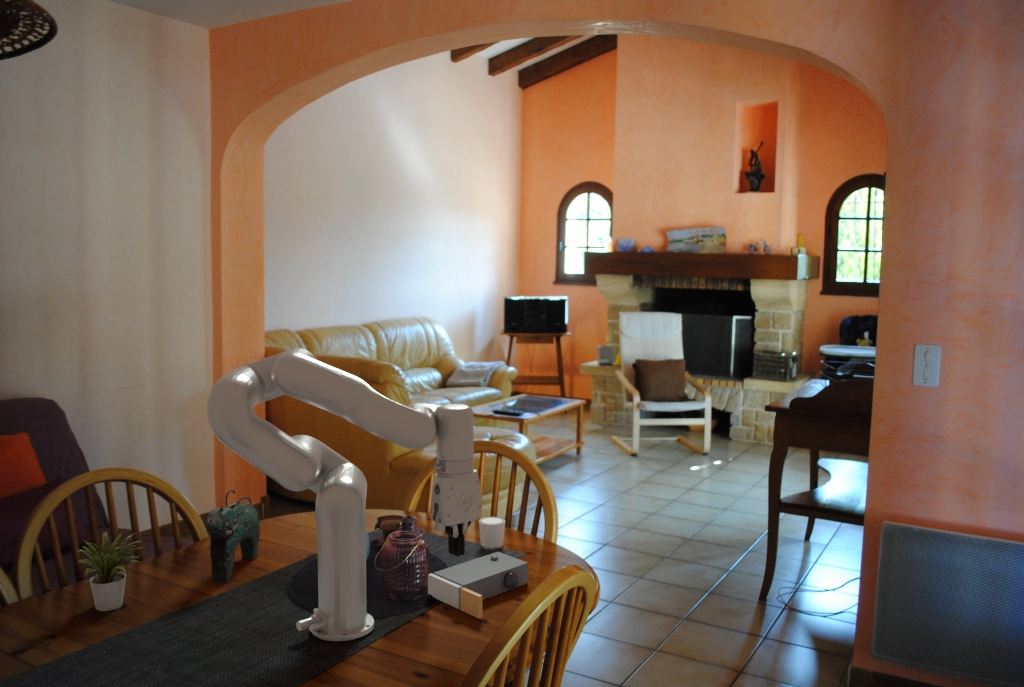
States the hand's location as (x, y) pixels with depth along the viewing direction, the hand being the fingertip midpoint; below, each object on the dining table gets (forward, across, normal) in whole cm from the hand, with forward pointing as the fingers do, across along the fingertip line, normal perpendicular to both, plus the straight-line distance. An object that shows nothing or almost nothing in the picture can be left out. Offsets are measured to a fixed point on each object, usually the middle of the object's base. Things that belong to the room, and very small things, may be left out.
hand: (456, 553), depth 174 cm
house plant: (+14, -50, +56) cm, 76 cm away
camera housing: (+15, +15, +10) cm, 24 cm away
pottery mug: (+15, +20, +49) cm, 55 cm away
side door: (+14, +5, +6) cm, 16 cm away
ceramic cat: (+14, -20, +59) cm, 64 cm away
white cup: (+15, +36, +29) cm, 49 cm away
